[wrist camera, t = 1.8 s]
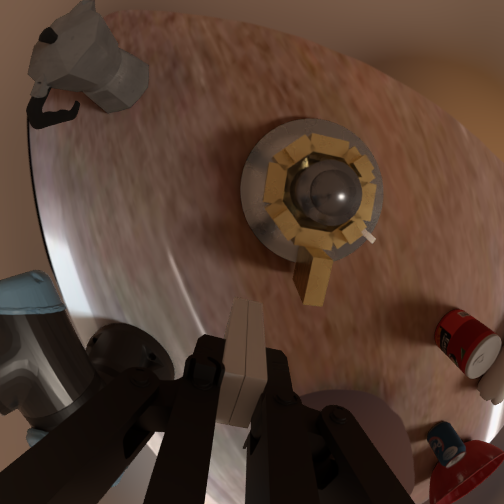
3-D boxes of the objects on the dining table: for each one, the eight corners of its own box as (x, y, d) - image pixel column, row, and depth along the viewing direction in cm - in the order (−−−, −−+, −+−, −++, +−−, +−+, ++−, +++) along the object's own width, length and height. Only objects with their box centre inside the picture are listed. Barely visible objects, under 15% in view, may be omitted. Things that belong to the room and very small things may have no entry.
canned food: (428, 327, 38) (464, 361, 27) (461, 298, 37) (500, 325, 26) (437, 354, 39) (469, 387, 29) (468, 327, 38) (502, 355, 27)
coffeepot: (114, 43, 28) (49, -13, 10) (167, 47, 29) (115, -27, 11) (75, 136, 31) (-16, 121, 14) (126, 148, 32) (34, 128, 14)
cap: (231, 250, 35) (223, 272, 26) (252, 109, 31) (252, 84, 22) (364, 270, 36) (393, 294, 27) (387, 140, 31) (423, 129, 23)
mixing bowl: (493, 430, 49) (512, 455, 34) (434, 482, 55) (447, 509, 40) (474, 417, 45) (499, 450, 30) (400, 479, 51) (415, 514, 36)
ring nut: (250, 273, 34) (250, 297, 26) (272, 131, 30) (278, 114, 23) (346, 285, 34) (367, 311, 27) (371, 153, 31) (401, 146, 23)
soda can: (425, 429, 45) (444, 463, 33) (448, 415, 44) (470, 446, 32) (425, 442, 46) (442, 473, 34) (447, 428, 45) (466, 457, 34)
